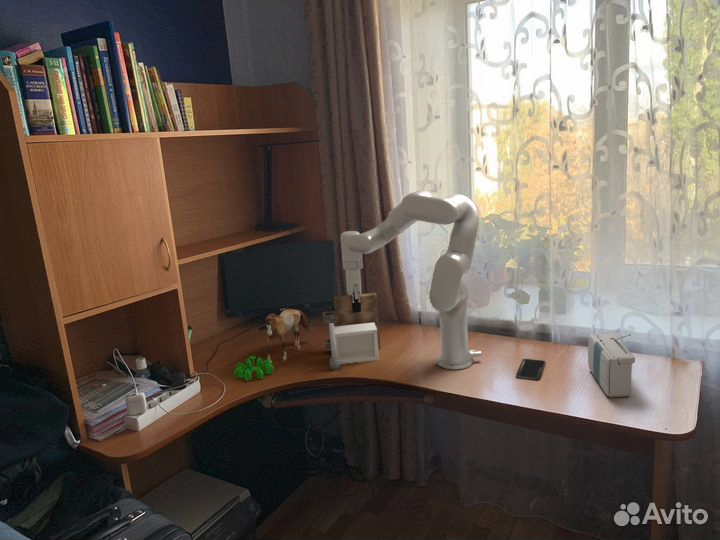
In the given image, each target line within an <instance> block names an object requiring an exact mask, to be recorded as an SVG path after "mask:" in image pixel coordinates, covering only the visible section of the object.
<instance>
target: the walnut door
mask: <svg viewBox="0 0 720 540" xmlns="http://www.w3.org/2000/svg"><path fill="white" fill-rule="evenodd" d="M359 296H360V303H361V312H357V313H353V310H352V302H353V301H352V295H350V296H349V295H339V296H333V297H334V308H335V309H334V310H332V311H323V312H322V321H323V325H327V324H328V325H329V324H330V323H334V324H335V323H336V326H346V325H355V324H365V323H375V326H376V328H377V337H378V350H381V338H380V337H381V335H380V325H379V321H380V320H379V310H378V295H377V293H376V292H370V293H361V295H360V294H359ZM354 297H355V296H354ZM324 341H325V342H324V343H325V351H326V352H329V351H331V342H330V338H325V339H324Z"/></svg>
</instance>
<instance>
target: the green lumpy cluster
mask: <svg viewBox="0 0 720 540" xmlns="http://www.w3.org/2000/svg"><path fill="white" fill-rule="evenodd" d="M256 358H257V357H256V355H250V356H249V358H246V359H245V364H244V363H243V362H239V363H237V364H236V365H235V366H234V373H233V374H234V377H235V378H236V379H237V380H239V379H243V378H244V379H245V381H246V382H249V381H251V380H252V379H253V377H252V373H253V372H256V377H257V379H260V380H261V381H262V380H263V379H264V375H272V374H273V373H274V372H275V369H274V362H273V360H272V359H271V358H270V359H268V358H267V359H265V360H264V361H263V358H262V357H258V358H257V359H256ZM255 359H256V366H255ZM251 360H252V361H251ZM269 360H271V361H272V364H271V363H270V361H269ZM243 373H244V374H243ZM236 375H237V376H236Z"/></svg>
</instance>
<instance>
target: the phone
mask: <svg viewBox="0 0 720 540" xmlns="http://www.w3.org/2000/svg"><path fill="white" fill-rule="evenodd" d="M546 364H547V363H546V361H545V360H542V359H541V360H540V359H533V358H532V359H531V358H522V360H521V363H520V365H519V367H518V369H517V371H516V374H515V377H516V379H520V380H530V381H540V380H541V378H542V375H543V373H544V369H545V366H546Z"/></svg>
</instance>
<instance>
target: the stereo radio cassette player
mask: <svg viewBox="0 0 720 540" xmlns="http://www.w3.org/2000/svg"><path fill="white" fill-rule="evenodd" d="M631 335H632V334H631V333H629V334H626V335H624V336H620V337H617V336H616V334H614V333H599V334H596V333H595V334H593V333H592V334H589V337H588V343H587V344H588V345H587V346H588V348H587V362H588V363H587V365H588V369H589V371H590V372H591V373H592V376H594V378H595V380H596V381H597V383H598V384H599V386H600V387H601V389H602V390H603V392H604V393H605V394H606V396H607V397H609V398H622V397H623V398H624V397H626V396H628V397H630V396H631V394H632V393H631V392H632V374H633V373H632V372H633V371H632V370H633V369H632V367H633V364H634V363H635V362H636V357H635V356H634V355H633V354H632V353H631V351H630V350H629V349H628V348H627V347H626V346H625V345H624V344H623V342H622V341H621V339H624V338H626V337H631ZM626 398H627V397H626Z"/></svg>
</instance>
